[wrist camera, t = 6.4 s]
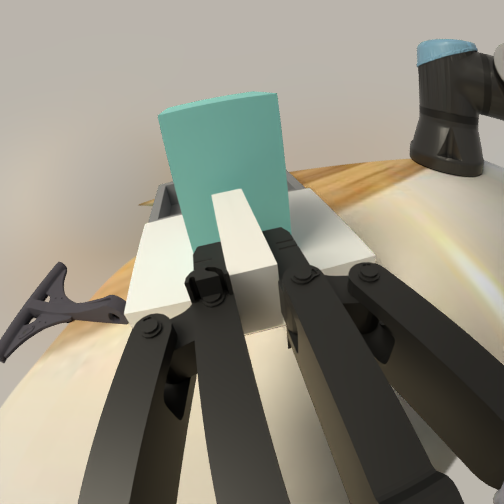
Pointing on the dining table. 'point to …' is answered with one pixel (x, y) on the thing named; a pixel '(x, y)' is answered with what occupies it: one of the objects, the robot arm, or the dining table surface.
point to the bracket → (57, 311)
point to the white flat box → (181, 255)
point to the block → (227, 160)
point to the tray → (169, 203)
